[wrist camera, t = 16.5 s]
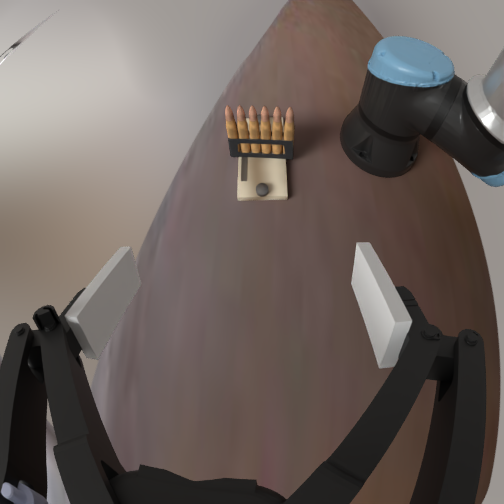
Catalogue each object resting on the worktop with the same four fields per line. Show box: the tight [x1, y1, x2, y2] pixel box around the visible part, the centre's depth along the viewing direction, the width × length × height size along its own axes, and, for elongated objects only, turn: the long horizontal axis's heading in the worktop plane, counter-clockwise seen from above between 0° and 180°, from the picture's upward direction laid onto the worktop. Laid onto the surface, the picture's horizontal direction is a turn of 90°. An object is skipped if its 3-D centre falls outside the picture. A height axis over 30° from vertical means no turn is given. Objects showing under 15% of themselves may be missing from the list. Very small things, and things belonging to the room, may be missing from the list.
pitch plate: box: [237, 114, 288, 201], centre depth 50 cm, size 8×17×2 cm, turn 0°
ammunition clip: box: [225, 105, 295, 159], centre depth 44 cm, size 11×2×12 cm, turn 85°
